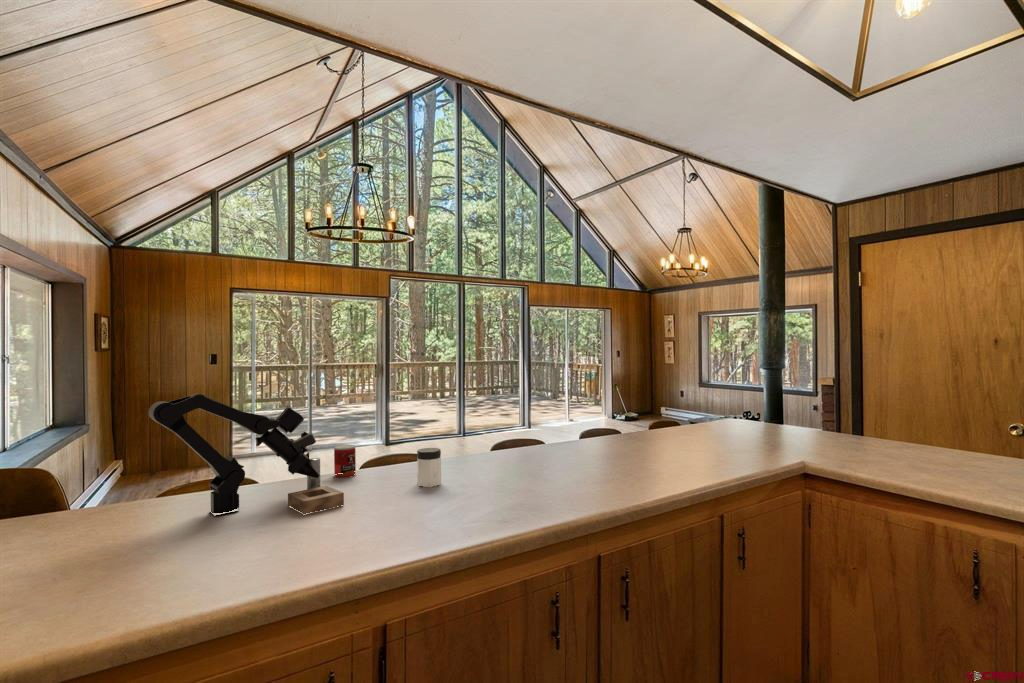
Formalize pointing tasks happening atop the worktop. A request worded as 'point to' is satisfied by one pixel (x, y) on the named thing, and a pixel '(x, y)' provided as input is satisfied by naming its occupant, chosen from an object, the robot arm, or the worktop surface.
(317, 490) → the wooden socket block
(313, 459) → the grey upright bar
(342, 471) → the canned food
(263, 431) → the robot arm
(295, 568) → the worktop surface
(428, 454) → the jar
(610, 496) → the worktop surface
